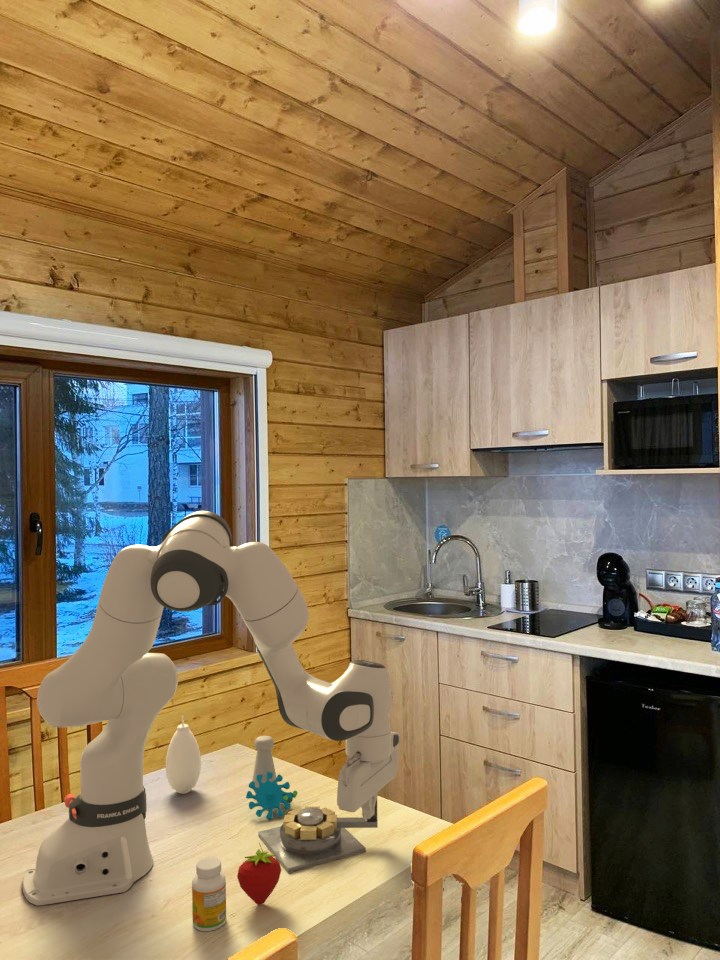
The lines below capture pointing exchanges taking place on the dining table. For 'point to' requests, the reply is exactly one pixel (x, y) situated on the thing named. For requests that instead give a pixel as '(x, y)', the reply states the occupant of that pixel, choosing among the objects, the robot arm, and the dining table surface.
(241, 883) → the strawberry
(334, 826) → the ring nut
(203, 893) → the supplement bottle
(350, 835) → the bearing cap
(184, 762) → the white air blower bulb
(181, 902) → the dining table surface
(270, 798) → the teal virus model
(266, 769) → the salt shaker
